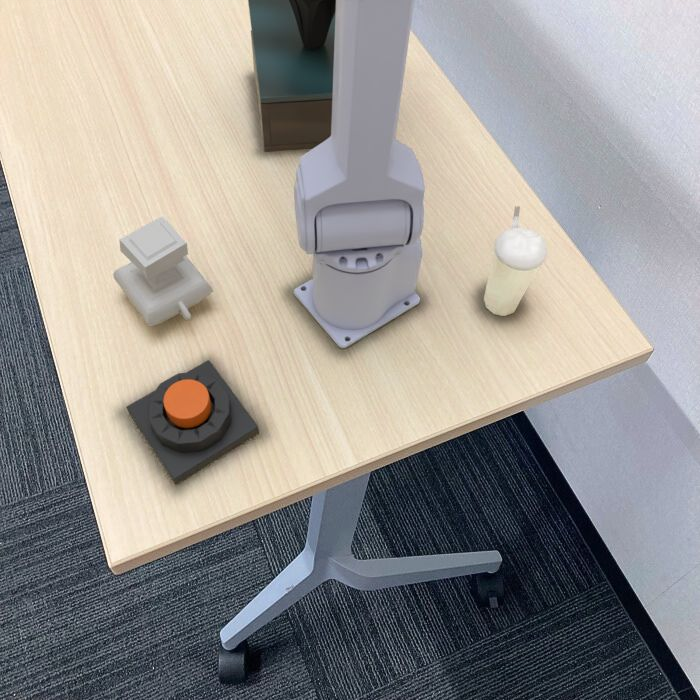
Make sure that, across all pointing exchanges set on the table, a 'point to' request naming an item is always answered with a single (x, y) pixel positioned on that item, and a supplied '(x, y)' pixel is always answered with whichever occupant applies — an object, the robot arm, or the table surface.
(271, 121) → the box
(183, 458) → the switch block
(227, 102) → the table surface
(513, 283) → the milkshake
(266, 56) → the lid
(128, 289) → the stamp
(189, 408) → the button
